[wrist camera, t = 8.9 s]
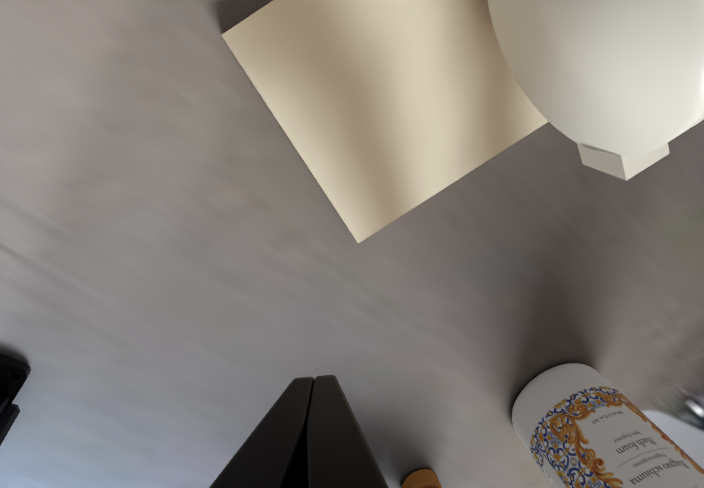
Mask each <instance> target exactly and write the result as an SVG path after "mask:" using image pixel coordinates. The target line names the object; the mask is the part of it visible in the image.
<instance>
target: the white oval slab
mask: <svg viewBox="0 0 704 488" xmlns="http://www.w3.org/2000/svg"><path fill="white" fill-rule="evenodd" d="M488 6H489V12H490V16H491V20H492V24H493V28H494V31H495V34H496V38H497V40H498V43H499V46H500V48H501V51H502V53H503V55H504V58H505V60H506V62H507V64H508V66H509V68H510V70H511V72H512V74H513V76H514V77H515V79H516V81H517V82H518V84H519V85H520V87H521V89H522V90H523V91H524V93H525V94H526V96H527V97H528V99H529V100H530V101H531V102H532V104H533V105H534V106H535V107H536V109H537V110H538V111H539V112H540V113H541V114H542V115H543V116H544V117H545V118H546V119H547V120H548V121H549V122H550V123H551V124H552V125H553V126H554V127H555V128H557V129H558V130H559V131H560V132H562V133H563V134H564V135H566V136H567V137H569V138H570V139H572V140H573V141H575V142H576V143H577V145H578V149H579V152H580V156H581V160H582V163H583V165H586V166H589V167H591V168H594V169H597V170H599V171H602V172H605V173H607V174H610V175H613V176H616V177H618V178H621V179H624V180H626V181H627V180H628V179H630V178H631V177H633V176H635V175H636V174H638V173H639V172H641V171H642V170H644V169H646V168H647V167H649V166H650V165H652V164H654V163H655V162H657V161H658V160H660V159H662V158H663V157H665V156H666V155H668V154H669V147H668V142H669V141H670V140H672V139H674V138H675V137H677V136H678V135H680V134H682V133H683V132H685V131H686V130H688V129H689V128H691V127H693V126H694V125H696V124H697V123H699V122H701V121H702V120H704V0H488Z"/></svg>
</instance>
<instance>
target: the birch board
mask: <svg viewBox="0 0 704 488" xmlns="http://www.w3.org/2000/svg"><path fill="white" fill-rule="evenodd" d="M221 36H222V37H223V39H224V40H225V42H226V43H227V45H228V46H229V48H230V49H231V51H232V52H233V54H234V55H235V57H236V59H237V60H238V62H239V63H240V65H241V66H242V68H243V69H244V71H245V72H246V74H247V75H248V77H249V78H250V80H251V81H252V83H253V84H254V86H255V87H256V89H257V90H258V92H259V93H260V95H261V96H262V98H263V100H264V101H265V103H266V104H267V106H268V107H269V109H270V110H271V112H272V113H273V115H274V116H275V118H276V119H277V121H278V122H279V124H280V125H281V127H282V128H283V130H284V131H285V133H286V134H287V136H288V137H289V139H290V141H291V142H292V144H293V145H294V147H295V148H296V150H297V151H298V153H299V154H300V156H301V157H302V159H303V160H304V162H305V163H306V165H307V166H308V168H309V169H310V171H311V172H312V174H313V175H314V177H315V178H316V180H317V182H318V183H319V185H320V186H321V188H322V189H323V191H324V192H325V194H326V195H327V197H328V198H329V200H330V201H331V203H332V204H333V206H334V207H335V209H336V210H337V212H338V213H339V215H340V216H341V218H342V219H343V221H344V223H345V224H346V226H347V227H348V229H349V230H350V232H351V233H352V235H353V236H354V238H355V239H356V241H357V242H358V243H360V242H361V241H363V240H364V239H366V238H368V237H369V236H371V235H372V234H374V233H375V232H377V231H378V230H380V229H382V228H383V227H385V226H386V225H388V224H389V223H391V222H393V221H394V220H396V219H397V218H399V217H400V216H402V215H403V214H405V213H407V212H408V211H410V210H411V209H413V208H414V207H416V206H417V205H419V204H421V203H422V202H424V201H425V200H427V199H428V198H430V197H432V196H433V195H435V194H436V193H438V192H439V191H441V190H442V189H444V188H446V187H447V186H449V185H450V184H452V183H453V182H455V181H456V180H458V179H460V178H461V177H463V176H464V175H466V174H467V173H469V172H471V171H472V170H474V169H475V168H477V167H478V166H480V165H481V164H483V163H485V162H486V161H488V160H489V159H491V158H492V157H494V156H495V155H497V154H499V153H500V152H502V151H503V150H505V149H506V148H508V147H510V146H511V145H513V144H514V143H516V142H517V141H519V140H520V139H522V138H524V137H525V136H527V135H528V134H530V133H531V132H533V131H534V130H536V129H538V128H539V127H541V126H542V125H544V124H545V123H547V122H549V121H548V120H547V119H546V118H545V117H544V116H543V115H542V114H541V113H540V112H539V111H538V110H537V109H536V107H535V106H534V105H533V104H532V102H531V101H530V100H529V99H528V97H527V96H526V94H525V93H524V91H523V90H522V89H521V87H520V85H519V84H518V82H517V81H516V79H515V77H514V76H513V74H512V72H511V70H510V68H509V66H508V64H507V62H506V60H505V58H504V55H503V53H502V51H501V48H500V46H499V43H498V40H497V38H496V34H495V31H494V28H493V24H492V20H491V16H490V12H489V6H488V0H273V1H271V2H270V3H268V4H267V5H265V6H264V7H262V8H261V9H259V10H258V11H256V12H255V13H253V14H252V15H250V16H249V17H247V18H246V19H244V20H243V21H241V22H240V23H238V24H237V25H235V26H234V27H232V28H231V29H229V30H228V31H226V32H225V33H223V34H222V35H221Z"/></svg>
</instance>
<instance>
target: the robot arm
mask: <svg viewBox="0 0 704 488" xmlns="http://www.w3.org/2000/svg"><path fill="white" fill-rule="evenodd" d="M12 371H16V372H18V373H20V374H15V373H13V372H12ZM30 372H31V369H30V366H29V365H28V364H27V363H25V362H22V361H19V360H16V359H13V358H10V357H7V356H4V355H1V354H0V445H1V444H2V442H3V440H4V438H5V437H6V435H7V433H8V431H9V430H10V428H11V426H12V424H13V423H14V421H15V419H16V417H17V416H18V414H19V412H20V409H19V407H18V405H15V404H12V401H13V400H14V398H15V397H16V395H17V393H18V392H19V390H20V389H21V387H22V385H23V384H24V382H25V381H26V379H27V377H28V376H29V374H30ZM209 488H388V486H387V484H386V481H385V479H384V477H383V475H382V473H381V471H380V469H379V467H378V465H377V463H376V460H375V458H374V456H373V454H372V452H371V450H370V448H369V446H368V444H367V441H366V439H365V437H364V435H363V433H362V431H361V429H360V427H359V425H358V423H357V420H356V418H355V416H354V414H353V412H352V410H351V408H350V406H349V404H348V401H347V399H346V397H345V395H344V393H343V391H342V389H341V387H340V385H339V382H338V380H337V378H336V377H335V376H334V375H325V376H317V377H316V378H315V379H314V378H313V377H302V378H295V379H294V380H293V381H292V382H291V383H290V384H289V386H288V387H287V388H286V390H285V391H284V392H283V393H282V395H281V396H280V397H279V399H278V400H277V401H276V402H275V404H274V405H273V406H272V408H271V409H270V410H269V411H268V413H267V414H266V415H265V417H264V418H263V419H262V420H261V422H260V423H259V424H258V426H257V427H256V428H255V429H254V431H253V432H252V433H251V435H250V436H249V437H248V438H247V440H246V441H245V442H244V444H243V445H242V446H241V447H240V449H239V450H238V451H237V453H236V454H235V455H234V456H233V458H232V459H231V460H230V462H229V463H228V464H227V465H226V467H225V468H224V469H223V471H222V472H221V473H220V474H219V476H218V477H217V478H216V480H215V481H214V482H213V483H212V485H211V486H210V487H209Z"/></svg>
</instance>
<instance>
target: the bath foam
mask: <svg viewBox="0 0 704 488" xmlns="http://www.w3.org/2000/svg"><path fill="white" fill-rule="evenodd" d="M512 424H513V428H514V430H515V432H516V433H517V435H518V436H519V438H520V439H521V441H522V442H523V444H524V445H525V446H526V448H527V449H528V451H529V452H530V453H531V455H532V457H533V458H534V460H535V461H536V462H537V464H538V465H539V467H540V468H541V470H542V471H543V472H544V474H545V475H546V477H547V478H548V479H549V481H550V482H551V484H552V485H553V487H554V488H704V470H703V469H702V468H701V467H700V466H699V465H698V464H697V463H696V462H695V461H694V460H693V459H692V458H691V457H689V456H688V455H687V454H686V453H685V452H684V451H683V450H682V449H681V448H680V447H679V446H678V445H677V444H675V443H674V442H673V441H672V440H671V439H670V438H669V437H668V436H667V435H666V434H665V433H663V432H662V431H661V430H660V429H659V428H658V427H657V426H656V425H655V424H654V423H653V422H652V421H651V420H650V419H648V418H647V417H646V416H645V415H644V414H643V413H642V412H641V411H640V410H639V409H638V408H637V407H636V406H635V405H633V404H632V403H631V402H630V401H629V400H628V399H627V398H626V397H625V396H624V395H623V394H622V393H620V392H619V391H618V390H617V389H616V388H615V387H614V386H613V385H611V384H610V383H609V382H608V381H607V380H606V379H605V378H604V377H603V376H602V375H601V374H600V373H598V372H597V371H596V370H595V369H593V368H592V367H590V366H587V365H584V364H579V363H569V364H563V365H559V366H556V367H553V368H551V369H548V370H546V371H545V372H543V373H541V374H540V375H538V376H537V377H535V378H534V379H533V380H532V381H530V382H529V383H528V384H527V385H526V386H525V388H524V389H523V390H522V391H521V393H520V394H519V396H518V397H517V399H516V401H515V403H514V406H513V410H512Z"/></svg>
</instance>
